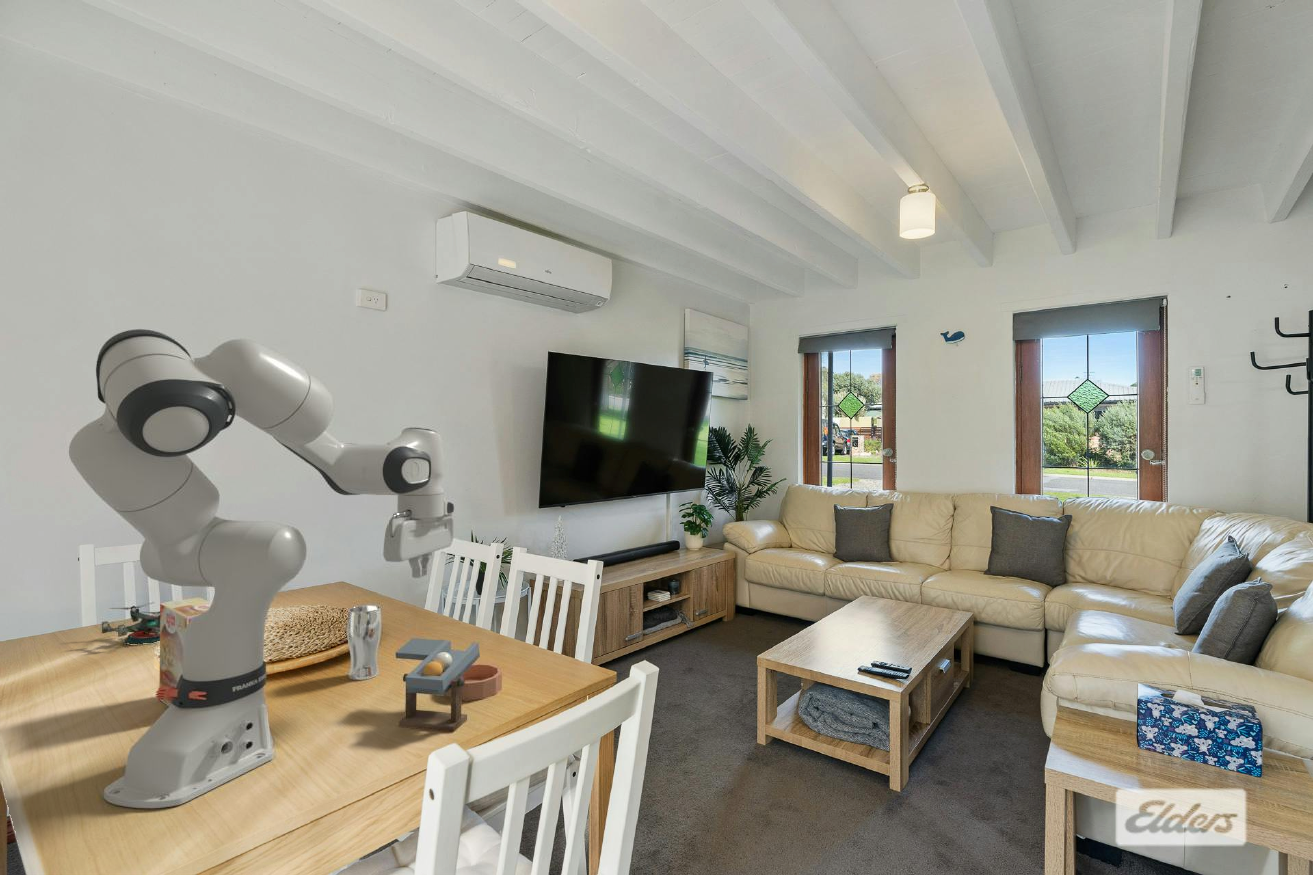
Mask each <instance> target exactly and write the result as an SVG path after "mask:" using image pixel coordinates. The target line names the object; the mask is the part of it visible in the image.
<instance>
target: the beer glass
mask: <svg viewBox="0 0 1313 875" xmlns="http://www.w3.org/2000/svg"><path fill="white" fill-rule="evenodd" d="M347 613H348V614H347V623H346V625H347V626H346V636H347V642H348V649H349V653H350V669H349V672H348V678H349V679H350V680H353V681H365V680H369V679H373V678H374V677H375V678H376V677H377V676H379V666H378V651H379V645H380V641H381V636H382V635H381V634H382V611H381V606H380V605H378V604H362V605H357V606H353V607H350V608H349V609H348V612H347Z"/></svg>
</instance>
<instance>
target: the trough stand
mask: <svg viewBox="0 0 1313 875" xmlns="http://www.w3.org/2000/svg"><path fill="white" fill-rule="evenodd" d="M408 674H409V673H404V675H403V676H402V681H403V682H405V683H406V678H405V677H406V676H407V675H408ZM464 683H465V679H464V678H462V677H456V678H455V679H453V680H452V681H451V698H450V712H444V711H437V710H436V711H434V710H424V709H423V710H422V709H417V699H418V697H417V695H418V693H408V692H407V688H406V687H405V710H404V711H405V714H404V717H402V718H401V719H400V720H398V727H400V728H401V727H402V728H410V729H411V728H412V729H418V730H419V729H421V730H422V729H423V730H431V731H441V732H451V733H454V732H455V731H457V729H458V728H459V727H461V726H462V725H463V724H464V723H465V722H467V721H468V714H466V713H462V700H461V692H462V686H464Z"/></svg>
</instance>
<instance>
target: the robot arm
mask: <svg viewBox="0 0 1313 875" xmlns="http://www.w3.org/2000/svg"><path fill="white" fill-rule="evenodd" d="M95 365H96V366H95V375H96V386H97V388H96V389H97V398H98V400H99V401H100V402H102V404H105V409H104V410H105V411H104V412H103V414H102V415H101V416H100V417H99V418H97V419H95V420H93V421H91V422H90V423H89V422H88V423H87V424H86V425H84V426H83V427H82V428H81V429H79V430H78V431H77V432H76V433H75V434H74V435H73V437H72V439H71V441H70V443H69V446H68V455H69V459H70V462H71V463H72V464H73V466H74V467H75V469H76V470H77V472H78V473H79V475H80V476H81V478H83V480H84V481H85V483H87V485H88V486H89V487H90V488H91V489H92V490H93V491H94V493H96V495H97V496H98V497H99V498H100V499H101V500H102V501H104V503H106V504H107V506H109V507H110V508H111V509H112V510H113V511H114V512H116V513H117V514H118V515H119V516H121V517H122V519H124V520H125V521H126V522H127V523H128V524H130V525H131V526H132V527H133V528H134V529H135V531H137V532H138V533H139V534H141V536H142V537H143V538H144V541H143V542H142V544H141V547H140V551H139V561H140V567H141V570H142V571H143V573H144V574H145V575H146V576H147V577H148V578H150V579H152V580H154V581H158V582H161V583H165V584H170V585H174V586H180V587H200V588H201V587H202V588H203V587H205V588H214V596H213V599H212V602H211V603H212V604H211V606H210V608H209V610H207V611H205V612H203V613H201V614H200V615H198V616H197V617H195V618H194V619H193V620H192V621H191V622H190V623H189V624H188V625H187V627H186V628H185V630H184V633H183V674H182V675H181V676H180V678H179V681H178V683H177V686H176V688H175V687H173V686H172V687H169V686H161V687H160V688H159V687H158V688H157V690H156V692H155V698H156V699H157V700H159V699H166V700H171V699H172V700H171V703H172V704H171V705H170V707H168V708H167V709H166V710H165V711H164V712H162V714H161V715H160V716H159V718H158V719H157V720H155V722H154V723H153V724H152V725H151V726H150V727H149V728H148V729H147V730H146V731H145V733H143V734H142V736H141V737H140V738H139V739H137V741H135V743H134V744H133V745H132V747H130V750H129V752H128V754H127V758H126V764H125V770H124V775H123V776H121V777H119V778H118V779H116V780H115V781H113V782H111V783H110V784H108V785H107V786H106V787H105V788H104V789H103V798H104V799H105V801H106V802H108V803H110V804H113V805H116V806H121V807H127V808H134V809H135V808H136V809H160V808H162V809H163V808H169V807H174V806H175V807H176V806H180V805H183V804H185V803H186V802H189V801H191V800H193V799H195V798H197V797H199V796H201V795H204V794H205V793H207V792H209V791H211V790H213V789H215V788H218V787H220V786H221V785H223V784H225V783H226V782H229V781H231V780H233V779H235V778H238V777H239V776H241V775H244V774H245V773H247V772H249V771H251V770H253V769H255V768H257V767H260V766H262V765H263V764H266V763H268V762H270V761H272V760H273V759H274V758H275V749H274V747H273V746H274V739H273V736H272V733H271V729H270V724H269V723H270V722H269V716H268V709H267V708H268V707H267V703H266V702H267V701H266V696H265V688H264V687H265V686H266V684H267V675H268V672H267V664H266V663H267V662H266V661H264V646H265V644H264V643H265V642H264V641H265V628H266V621H267V616H268V613H269V610H270V608H271V604H272V603H273V601H274V599H275V598H276V596H277V594H279V592H280V590H282V588H283V587H285V586H286V585H287V584H288V583H289V582H291V581H292V580H293V579H295V578H296V577H297V575H298V574H299V573H300V571H301V570H302V569H303V566H304V564H305V562H306V558H307V544H306V541H305V538H304V536H303V534H302V533H301V531H299V530H298V529H297V528H296V527H294V526H290V525H286V524H283V523H279V522H273V521H269V520H231V519H225V518H221V517H218V516H216V515H217V513H218V510H219V505H220V492H219V490H218V488H217V487H216V485H215V484H214V483H213V482H212V481H211V480H210V479H209V477H207V475H206V474H205V473H204V472H203V471H202V470H201V469H200V468H199V467H198V466H197V465H196V464H195V463H194V462H193V460H192V459H191V458H190V457H189V456H188V454H191V453H193V452H196V451H197V450H199V449H201V448H202V447H205V446H207V444H208V443H211V441H212V440H214V439H215V438H216V437H217V436H218V435H219V433H220V432H221V431H223V430H226V429H228V428H229V427H230V426H231V425H232V424H233V421H234V418H235V417H236V416H237V417H239V418H241V419H243V420H244V421H246V422H248V423H249V424H250V425H252V426H254V427H256V428H258V429H260V430H261V431H263V432H264V433H266V434H268V435H270V436H271V437H273V439H274V440H276V441H277V442H278V443H279V444H280V445H281V446H282V447H284V448H285V449H287V450H288V451H290V452H292V454H294V455H296V456H297V457H298V458H300V459H301V460H302V461H304V462H305V463H307V464H309V465H310V467H313V468H314V469H315V470H316V471H317V472H318V473H319V474H320V475H321V476H322V477H323V479H324V481H325V482H326V483H327V484H328V485H329V487H330V489H332V490H333V491H334V492H336V493H338V494H339V495H343V496H358V495H360V496H361V495H373V496H375V495H376V496H397V511H396V512H394V513H393V514H392V516H391V518H390V519H389V521H388V524H387V525H386V528H385V533H384V541H383V552H382V553H383V554H382V555H383V557H384V560H385V561H386V562H387V563H388V562H391V563H396V562H397V563H401V562H405V561H408V564H409V565H410V568H411V569H412V570H411V571H412V572H411V574H412V575H411V576H412V577H413V578H414V579H421V578H422V577H425V576H427V575H428V574H429V566H430V563H431V560H432V557H433V556H432V554H433V553H434V552H436V551H437V552H438V551H440V550H443V549H446V548H450V547H451V546H452V544H453V541H454V533H455V530H454V529H455V518H454V517H455V516H454V515H453V514H455V513H456V504H455V502H452V501H451V500H449V499H446V498H445V489H444V487H443V478H444V475H445V450H444V449H445V448H444V445H443V444H444V443H443V439H442V436H441V434H440V433H439V432H437V431H435V430H432V429H431V428H430V429H429V428H421V427H407V428H404V429H402V431H401V434H400V435H398V437H397V438H395V439H394V440H391V441H389V442H386V443H385V444H384V443H383V444H359V443H347V442H342V441H339V440H337V439H336V438H335V437H334V436H332V435H331V434H330V433H329V432H327V431H326V430H327V428H328V427H329V425H330V423H331V422H332V419H333V415H334V411H335V405H334V398H333V394H332V393H331V392H330V391H329V390H328V388H327V387H326V386H325V385H324V384H323V383H322V382H321V381H319V380H318V378H316V377H315V376H313V375H312V374H310V373H309V372H308V371H307V370H305V369H304V368H302V367H301V366H299V365H298V364H296V363H295V362H293V361H292V360H290V359H289V358H288V357H286V356H283V355H282V354H280V353H279V352H277V351H274V349H273V350H272V349H270V348H269V347H267V346H264V345H263V344H260V343H258V342H256V341H253V340H250V339H246V338H244V339H242V338H236V339H231V340H228V341H226V342H223V343H221V344H220V345H218V346H217V347H215V348H214V349H212V351H211V352H210V353H209V354H207V355H205V356H202V357H194V358H193V359H192V357H191V354H190V353H189V352H188V350H187V349H186V347H184V346H183V345H182V344H181V343H179V342H178V341H176V339H175V338H172V337H171V336H169V335H166V334H165V333H162V332H159V331H156V330H150V329H143V328H142V329H140V328H139V329H131V330H130V329H129V330H126V331H121V332H118V333H117V334H114V335H113V336H111V337H110V338H109V339H108V340H107V341H106V342H104V344H103V346H102V347H101V348H100V350H99V353H98V354H97V358H96V364H95ZM230 416H231V417H230ZM229 417H230V419H229ZM228 419H229V420H228Z"/></svg>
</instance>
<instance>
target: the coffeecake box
mask: <svg viewBox="0 0 1313 875" xmlns="http://www.w3.org/2000/svg"><path fill="white" fill-rule="evenodd" d="M211 604H212V602H210V601H208V600H206V599H203V598H202V597H199V596H198V597H193V598H186V599H179V600H178V599H177V600H170V601H166V602H161V603H160V604H159V605H160V607H159V609H160V610H159V611H160V643H159V682H158V683H159V687H158V688H160V687H161V686H169V687H172V686H173V687H175V688H176V686H177V683H178V681H179V678H180V676H181V675H182V674H183V633H184V630H185V628H186V627H187V625H188V624H189V623H190V622H191V621H192V620H193V619H194V618H195V617H197V616H198V615H200V614H201V613H203V612H205V611H207V610H209V608H210V606H211ZM171 700H172V699H171ZM171 700H166V699H160V700H159V701H160V702H161V703H163V704H164V705H166V706H167V707H168V708H169V707H170V705H171V704H172V703H171Z"/></svg>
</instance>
